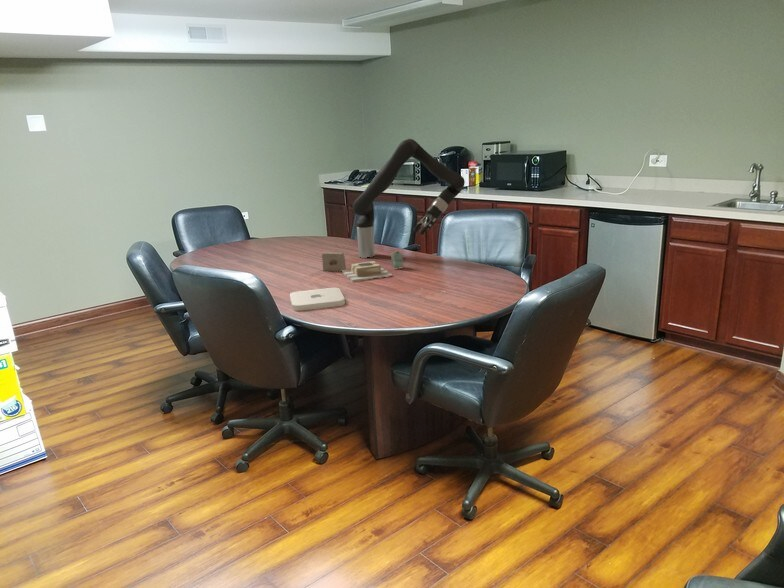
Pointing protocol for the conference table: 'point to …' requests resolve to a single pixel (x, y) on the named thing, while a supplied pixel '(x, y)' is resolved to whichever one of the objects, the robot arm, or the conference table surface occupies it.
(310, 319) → the conference table surface
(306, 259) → the conference table surface
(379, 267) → the stand
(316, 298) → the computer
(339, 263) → the fossil
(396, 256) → the post
